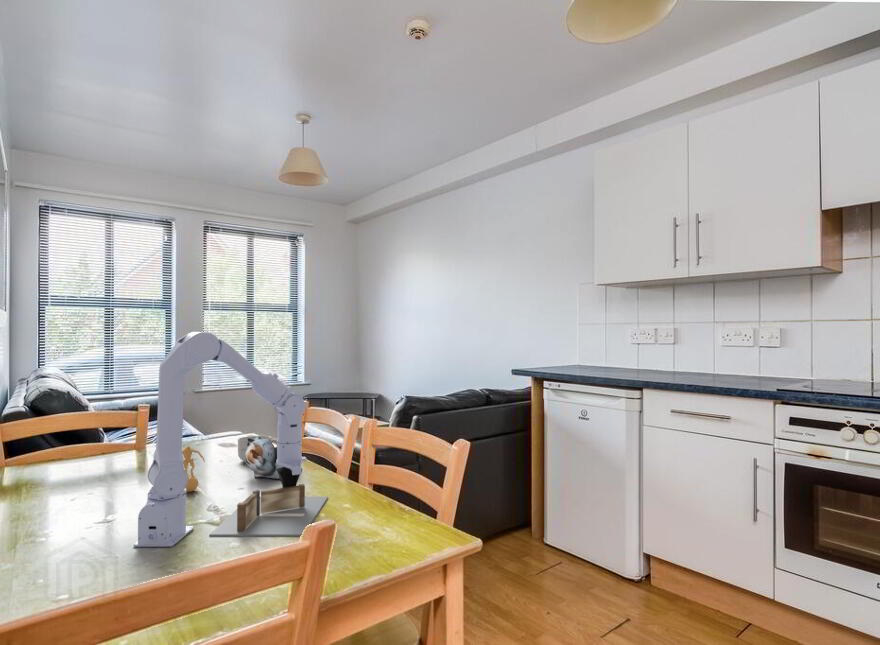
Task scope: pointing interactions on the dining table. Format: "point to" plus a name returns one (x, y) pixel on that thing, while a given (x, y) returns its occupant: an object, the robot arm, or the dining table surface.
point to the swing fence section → (282, 498)
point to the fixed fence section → (248, 511)
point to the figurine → (192, 481)
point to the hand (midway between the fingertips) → (289, 497)
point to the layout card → (275, 521)
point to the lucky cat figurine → (262, 458)
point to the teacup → (243, 446)
